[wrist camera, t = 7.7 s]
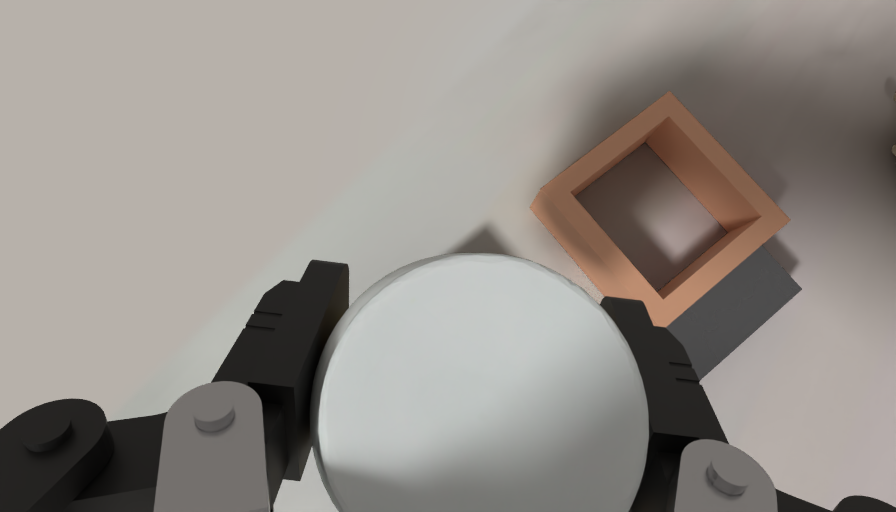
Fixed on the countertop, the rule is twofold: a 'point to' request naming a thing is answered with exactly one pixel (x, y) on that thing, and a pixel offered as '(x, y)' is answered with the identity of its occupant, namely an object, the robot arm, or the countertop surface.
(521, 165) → the countertop surface
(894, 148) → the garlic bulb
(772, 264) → the rail
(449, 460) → the supplement bottle
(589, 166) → the marked socket
